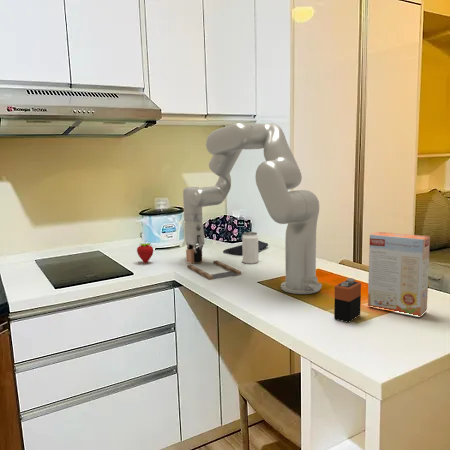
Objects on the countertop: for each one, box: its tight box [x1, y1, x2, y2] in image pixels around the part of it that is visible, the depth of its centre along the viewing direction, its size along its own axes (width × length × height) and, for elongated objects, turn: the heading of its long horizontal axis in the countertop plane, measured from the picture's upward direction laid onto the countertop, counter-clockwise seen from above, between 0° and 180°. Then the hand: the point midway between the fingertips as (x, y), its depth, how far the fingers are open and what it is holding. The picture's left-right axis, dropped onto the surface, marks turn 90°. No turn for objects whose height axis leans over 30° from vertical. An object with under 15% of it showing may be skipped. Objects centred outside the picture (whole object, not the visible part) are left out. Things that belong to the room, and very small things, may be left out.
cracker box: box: [367, 231, 431, 316], centre depth 112 cm, size 14×6×21 cm, turn 48°
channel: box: [186, 260, 242, 281], centre depth 159 cm, size 20×13×1 cm, turn 28°
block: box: [185, 247, 203, 265], centre depth 174 cm, size 5×5×5 cm
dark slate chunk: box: [222, 240, 269, 257], centre depth 193 cm, size 15×22×5 cm
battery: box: [333, 277, 362, 323], centre depth 109 cm, size 4×7×10 cm, turn 137°
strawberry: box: [136, 241, 154, 264], centre depth 173 cm, size 6×8×10 cm
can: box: [241, 231, 259, 265], centre depth 170 cm, size 6×6×12 cm
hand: (194, 259), depth 174 cm, fingers open, 6 cm apart
